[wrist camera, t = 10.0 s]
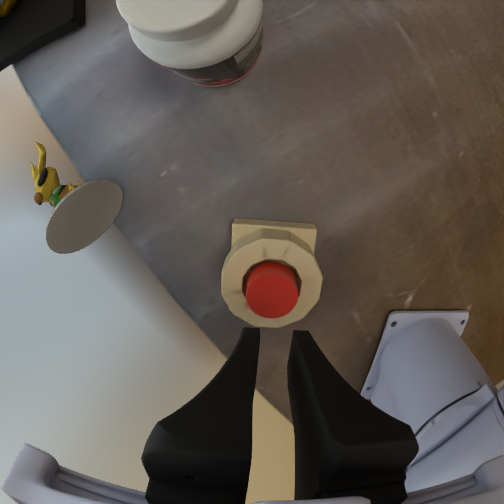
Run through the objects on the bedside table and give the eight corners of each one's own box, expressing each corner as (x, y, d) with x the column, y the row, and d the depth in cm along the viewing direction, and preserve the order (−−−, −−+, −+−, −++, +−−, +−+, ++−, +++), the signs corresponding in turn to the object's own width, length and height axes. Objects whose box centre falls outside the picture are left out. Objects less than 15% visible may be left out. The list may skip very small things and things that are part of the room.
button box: (307, 306, 22) (313, 331, 19) (225, 301, 22) (220, 326, 19) (319, 223, 19) (329, 240, 17) (228, 217, 20) (222, 233, 17)
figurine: (42, 265, 16) (2, 188, 17) (110, 238, 21) (61, 173, 22) (52, 191, 13) (10, 120, 14) (134, 173, 18) (78, 113, 19)
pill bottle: (160, 77, 16) (73, 43, 7) (190, 2, 14) (134, -79, 5) (245, 99, 17) (226, 69, 8) (275, 22, 15) (285, -64, 6)
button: (292, 305, 19) (294, 320, 17) (246, 302, 19) (244, 317, 17) (298, 263, 18) (301, 275, 16) (248, 259, 18) (247, 272, 16)
